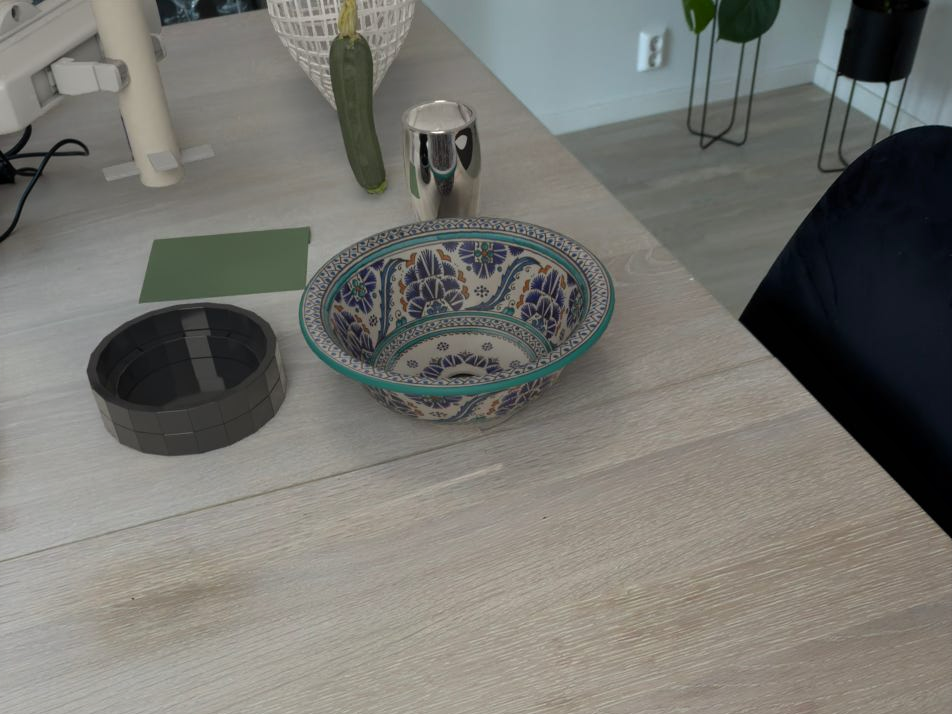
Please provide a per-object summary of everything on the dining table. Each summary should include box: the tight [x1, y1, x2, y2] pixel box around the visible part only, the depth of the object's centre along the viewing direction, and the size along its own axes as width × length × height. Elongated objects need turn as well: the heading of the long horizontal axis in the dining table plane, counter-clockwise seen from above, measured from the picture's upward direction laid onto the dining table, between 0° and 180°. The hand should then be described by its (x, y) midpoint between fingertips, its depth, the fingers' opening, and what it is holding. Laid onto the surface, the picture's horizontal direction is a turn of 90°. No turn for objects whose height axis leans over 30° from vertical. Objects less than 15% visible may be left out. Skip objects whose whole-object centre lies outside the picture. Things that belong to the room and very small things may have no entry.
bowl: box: [298, 216, 616, 431], centre depth 93 cm, size 25×25×10 cm
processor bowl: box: [86, 301, 287, 457], centre depth 96 cm, size 16×16×5 cm
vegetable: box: [328, 0, 388, 195], centre depth 114 cm, size 4×4×20 cm
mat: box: [138, 226, 311, 304], centre depth 112 cm, size 16×12×1 cm
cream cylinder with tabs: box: [89, 0, 216, 188], centre depth 85 cm, size 9×9×16 cm
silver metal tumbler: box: [401, 98, 483, 222], centre depth 104 cm, size 7×7×15 cm
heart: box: [266, 0, 416, 112], centre depth 126 cm, size 28×16×22 cm, turn 13°
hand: (141, 63), depth 84 cm, fingers closed on cream cylinder with tabs, 3 cm apart
